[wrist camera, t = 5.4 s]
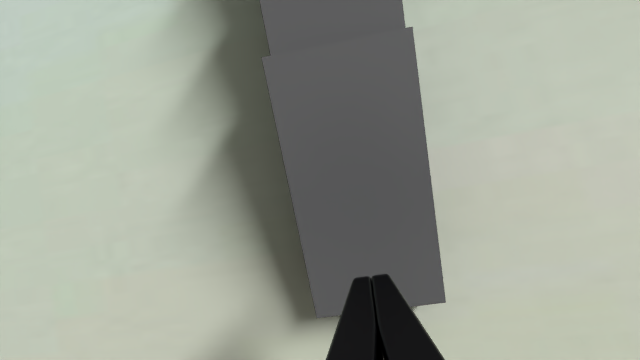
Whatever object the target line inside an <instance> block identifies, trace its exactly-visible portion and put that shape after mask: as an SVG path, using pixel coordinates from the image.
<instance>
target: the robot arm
mask: <svg viewBox="0 0 640 360" xmlns="http://www.w3.org/2000/svg"><path fill="white" fill-rule="evenodd" d="M383 357H384V358H383ZM326 360H445V359H444V358H443V356H442V355H441V353H440V352H439V350H438V349H437V347H436V345H435V344H434V342H433V341H432V339H431V338H430V336H429V335H428V333H427V332H426V330H425V329H424V327H423V326H422V324H421V323H420V321H419V320H418V318H417V317H416V315H415V314H414V312H413V310H412V309H411V307H410V306H409V304H408V303H407V301H406V300H405V298H404V297H403V295H402V294H401V292H400V291H399V289H398V288H397V286H396V285H395V283H394V282H393V280H392V278H391V277H390V276H389V275H388V274H380V275H373V276H372V278H370V277H369V276H364V277H356V278H354V279H353V281H352V283H351V286H350V289H349V292H348V295H347V298H346V301H345V304H344V307H343V310H342V313H341V316H340V319H339V322H338V325H337V328H336V331H335V334H334V337H333V340H332V343H331V346H330V349H329V352H328V355H327V358H326Z"/></svg>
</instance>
